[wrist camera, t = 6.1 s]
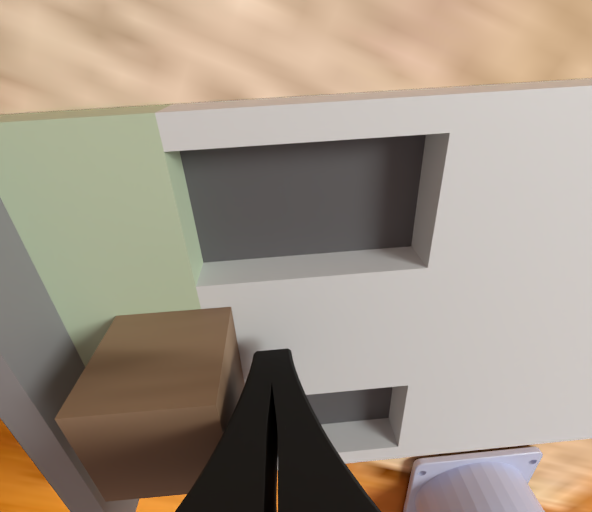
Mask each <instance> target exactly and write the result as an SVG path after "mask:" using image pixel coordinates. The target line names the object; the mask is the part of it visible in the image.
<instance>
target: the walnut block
mask: <svg viewBox="0 0 592 512" xmlns="http://www.w3.org/2000/svg"><path fill="white" fill-rule="evenodd" d="M244 385H245V383H244V377H243V371H242V366H241V360H240V354H239V349H238V343H237V337H236V332H235V326H234V320H233V314H232V309H231V307H222V308H209V309H196V310H183V311H170V312H158V313H145V314H132V315H119V316H116V317H115V319H114V320H113V322H112V324H111V325H110V327H109V329H108V330H107V332H106V334H105V335H104V337H103V339H102V340H101V342H100V344H99V345H98V347H97V349H96V350H95V352H94V354H93V355H92V357H91V359H90V360H89V362H88V364H87V365H86V367H85V369H84V370H83V372H82V374H81V375H80V377H79V379H78V380H77V382H76V384H75V386H74V387H73V389H72V391H71V392H70V394H69V396H68V397H67V399H66V401H65V402H64V404H63V406H62V407H61V409H60V411H59V412H58V414H57V416H56V417H55V421H56V422H57V424H58V426H59V427H60V429H61V430H62V432H63V434H64V435H65V437H66V438H67V440H68V442H69V443H70V445H71V447H72V448H73V450H74V451H75V453H76V455H77V456H78V458H79V459H80V461H81V463H82V464H83V466H84V467H85V469H86V471H87V472H88V474H89V476H90V477H91V479H92V480H93V482H94V484H95V485H96V487H97V488H98V490H99V492H100V493H101V495H102V496H103V498H104V500H105V501H106V502H108V501H118V500H129V499H139V498H150V497H160V496H170V495H181V494H188V492H189V491H190V489H191V488H192V486H193V485H194V483H195V482H196V480H197V478H198V477H199V475H200V473H201V472H202V470H203V469H204V467H205V465H206V464H207V462H208V460H209V459H210V457H211V455H212V453H213V452H214V450H215V448H216V446H217V444H218V442H219V441H220V439H221V437H222V435H223V433H224V431H225V429H226V427H227V425H228V422H229V420H230V418H231V416H232V414H233V412H234V410H235V407H236V405H237V403H238V400H239V398H240V395H241V393H242V390H243V388H244Z"/></svg>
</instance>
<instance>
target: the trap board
mask: <svg viewBox="0 0 592 512" xmlns="http://www.w3.org/2000/svg"><path fill="white" fill-rule="evenodd" d="M222 307H231V309H232V314H233V320H234V326H235V332H236V337H237V343H238V349H239V354H240V360H241V366H242V371H243V377H244V383H245V382H246V380H247V377H248V374H249V371H250V367H251V364H252V360H253V355H254V353H255V352H256V351H264V350H276V349H287V348H288V349H290V350H291V352H292V358H293V362H294V365H295V369H296V372H297V374H298V377H299V380H300V382H301V385H302V387H303V389H304V392H305V394H306V396H307V398H308V400H309V403H310V405H311V407H312V409H313V411H314V413H315V415H316V416H317V418H318V420H319V422H320V424H321V426H322V427H323V429H324V431H325V433H326V434H327V436H328V438H329V439H330V441H331V443H332V444H333V446H334V448H335V449H336V451H337V452H338V454H339V455H340V457H341V458H342V460H343V461H344V463H355V462H365V461H374V460H384V459H394V458H404V457H414V456H424V455H433V454H443V453H453V452H463V451H473V450H483V449H492V448H502V447H512V446H522V445H532V444H542V443H551V442H561V441H571V440H581V439H591V438H592V78H587V79H571V80H555V81H538V82H522V83H506V84H490V85H473V86H457V87H441V88H425V89H409V90H392V91H376V92H360V93H344V94H327V95H311V96H295V97H279V98H262V99H246V100H230V101H214V102H198V103H181V104H165V105H149V106H133V107H116V108H100V109H84V110H68V111H51V112H35V113H19V114H3V115H0V418H1V420H2V421H3V422H4V424H5V425H6V426H7V428H8V429H9V430H10V432H11V433H12V434H13V436H14V437H15V438H16V440H17V441H18V442H19V444H20V445H21V446H22V448H23V449H24V450H25V452H26V453H27V454H28V456H29V457H30V458H31V460H32V461H33V462H34V464H35V465H36V466H37V468H38V469H39V470H40V472H41V473H42V474H43V476H44V477H45V478H46V480H47V481H48V482H49V484H50V485H51V486H52V488H53V489H54V490H55V492H56V493H57V494H58V496H59V497H60V498H61V500H62V501H63V502H64V504H65V505H66V506H67V508H68V509H69V510H70V512H136V508H137V505H138V501H139V499H129V500H118V501H108V502H106V501H105V500H104V498H103V496H102V495H101V493H100V492H99V490H98V488H97V487H96V485H95V484H94V482H93V480H92V479H91V477H90V476H89V474H88V472H87V471H86V469H85V467H84V466H83V464H82V463H81V461H80V459H79V458H78V456H77V455H76V453H75V451H74V450H73V448H72V447H71V445H70V443H69V442H68V440H67V438H66V437H65V435H64V434H63V432H62V430H61V429H60V427H59V426H58V424H57V422H56V421H55V417H56V416H57V414H58V412H59V411H60V409H61V407H62V406H63V404H64V402H65V401H66V399H67V397H68V396H69V394H70V392H71V391H72V389H73V387H74V386H75V384H76V382H77V380H78V379H79V377H80V375H81V374H82V372H83V370H84V369H85V367H86V365H87V364H88V362H89V360H90V359H91V357H92V355H93V354H94V352H95V350H96V349H97V347H98V345H99V344H100V342H101V340H102V339H103V337H104V335H105V334H106V332H107V330H108V329H109V327H110V325H111V324H112V322H113V320H114V319H115V317H116V316H119V315H132V314H145V313H158V312H170V311H183V310H196V309H209V308H222ZM277 470H278V465H277Z"/></svg>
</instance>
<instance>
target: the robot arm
mask: <svg viewBox="0 0 592 512" xmlns="http://www.w3.org/2000/svg"><path fill="white" fill-rule="evenodd" d="M542 455H543V454H542V452H541V451H540V449H539V448H537V447H526V448H516V449H506V450H496V451H486V452H476V453H467V454H457V455H447V456H437V457H427V458H420V459H417V460H415V461H414V463H413V467H412V471H411V476H410V481H409V486H408V490H407V495H406V500H405V505H404V509H403V512H545V511H544V510H543V508H542V506H541V505H540V503H539V502H538V500H537V498H536V497H535V495H534V493H533V492H532V490H531V489H530V487H529V485H528V482H529V481H530V479H531V477H532V475H533V473H534V471H535V469H536V467H537V465H538V463H539V462H540V460H541V458H542ZM277 465H278V512H381V511H380V510H379V509H378V507H377V506H376V505H375V503H374V502H373V501H372V500H371V498H370V497H369V496H368V495H367V493H366V492H365V491H364V489H363V488H362V486H361V485H360V484H359V482H358V481H357V480H356V478H355V477H354V476H353V474H352V473H351V471H350V470H349V469H348V467H347V466H346V464H345V463H344V461H343V460H342V458H341V457H340V455H339V454H338V452H337V451H336V449H335V448H334V446H333V444H332V443H331V441H330V439H329V438H328V436H327V434H326V433H325V431H324V429H323V427H322V426H321V424H320V422H319V420H318V418H317V416H316V415H315V413H314V411H313V409H312V407H311V405H310V403H309V400H308V398H307V396H306V394H305V392H304V389H303V387H302V385H301V382H300V380H299V377H298V374H297V372H296V369H295V365H294V362H293V358H292V352H291V350H290V349H288V348H287V349H276V350H264V351H256V352H255V353H254V355H253V360H252V364H251V367H250V371H249V374H248V377H247V380H246V382H245V385H244V388H243V390H242V393H241V395H240V398H239V400H238V403H237V405H236V407H235V410H234V412H233V414H232V416H231V418H230V420H229V422H228V425H227V427H226V429H225V431H224V433H223V435H222V437H221V439H220V441H219V442H218V444H217V446H216V448H215V450H214V452H213V453H212V455H211V457H210V459H209V460H208V462H207V464H206V465H205V467H204V469H203V470H202V472H201V473H200V475H199V477H198V478H197V480H196V482H195V483H194V485H193V486H192V488H191V489H190V491H189V492H188V494H187V495H186V497H185V498H184V500H183V501H182V503H181V504H180V505H179V507H178V508H177V510H176V511H175V512H277V510H276V486H277Z"/></svg>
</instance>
